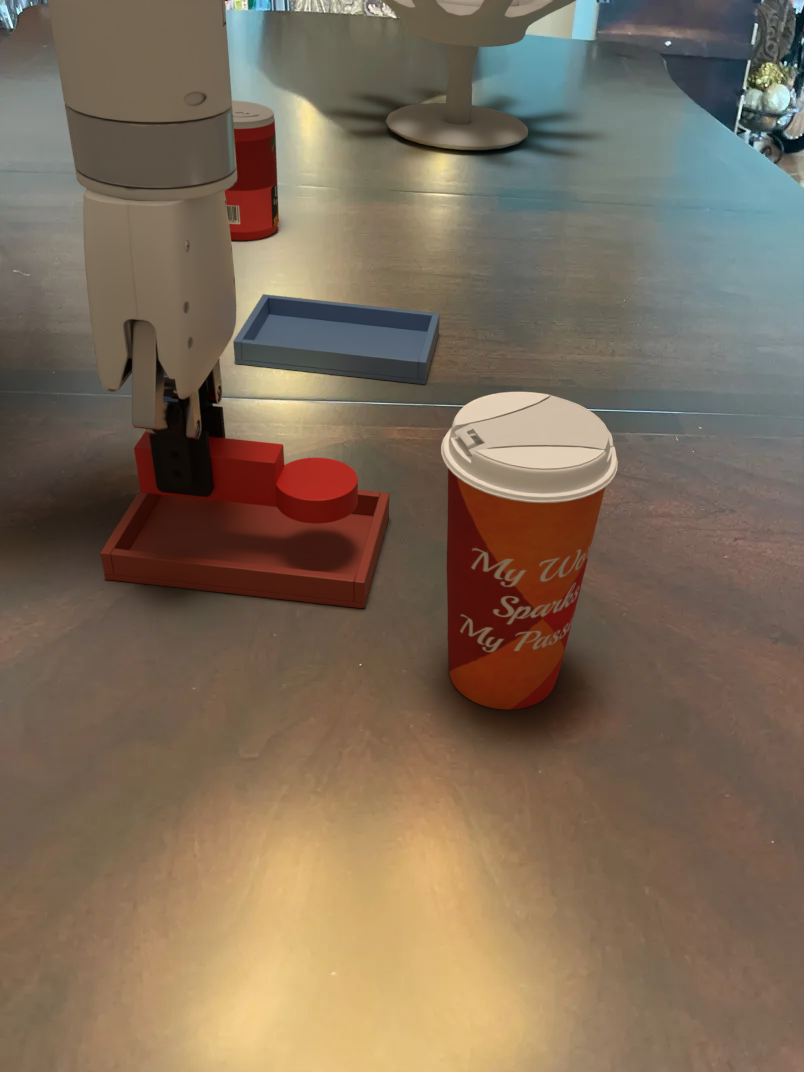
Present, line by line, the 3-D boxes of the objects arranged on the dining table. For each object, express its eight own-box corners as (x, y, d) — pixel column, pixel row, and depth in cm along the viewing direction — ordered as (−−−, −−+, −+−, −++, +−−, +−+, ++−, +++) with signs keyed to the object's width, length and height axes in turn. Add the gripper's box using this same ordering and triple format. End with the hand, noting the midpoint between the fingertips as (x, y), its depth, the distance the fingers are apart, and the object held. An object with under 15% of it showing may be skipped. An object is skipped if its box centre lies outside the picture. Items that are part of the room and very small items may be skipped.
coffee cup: (462, 741, 53) (486, 486, 44) (405, 641, 59) (416, 397, 49) (606, 704, 56) (659, 458, 47) (539, 612, 62) (573, 377, 52)
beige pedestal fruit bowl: (381, 182, 121) (385, -105, 104) (294, 103, 145) (286, -142, 128) (634, 168, 133) (676, -91, 116) (515, 97, 157) (536, -126, 140)
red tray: (104, 579, 61) (99, 552, 60) (157, 491, 68) (154, 466, 67) (364, 608, 61) (364, 582, 60) (388, 517, 68) (389, 492, 67)
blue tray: (234, 363, 83) (233, 341, 82) (264, 315, 91) (262, 293, 90) (425, 384, 83) (426, 362, 82) (438, 334, 91) (439, 313, 89)
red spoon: (132, 504, 60) (125, 459, 58) (159, 463, 64) (153, 418, 62) (350, 528, 60) (349, 482, 58) (363, 484, 64) (364, 440, 62)
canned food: (292, 235, 106) (288, 117, 99) (217, 246, 102) (207, 124, 95) (259, 211, 111) (253, 97, 103) (186, 220, 107) (175, 102, 100)
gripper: (133, 98, 56) (172, 409, 68) (4, 187, 44) (79, 549, 56) (271, 112, 56) (286, 422, 68) (182, 205, 44) (219, 564, 56)
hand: (193, 477), depth 62 cm, fingers closed on red spoon, 2 cm apart
